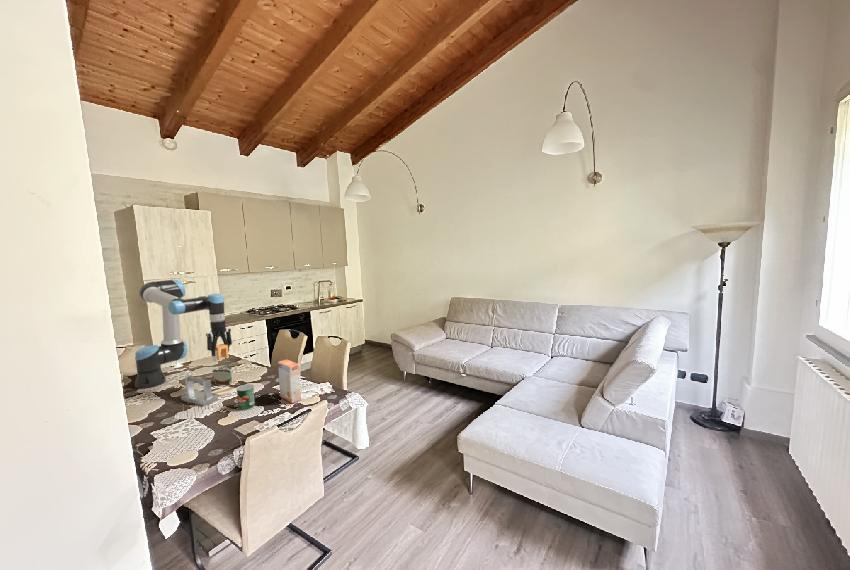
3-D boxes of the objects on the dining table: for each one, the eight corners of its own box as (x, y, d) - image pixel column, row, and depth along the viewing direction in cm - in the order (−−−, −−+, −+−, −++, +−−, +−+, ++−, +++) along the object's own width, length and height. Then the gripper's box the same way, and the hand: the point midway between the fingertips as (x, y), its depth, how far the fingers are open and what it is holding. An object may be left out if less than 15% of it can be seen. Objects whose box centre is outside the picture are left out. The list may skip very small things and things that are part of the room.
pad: (210, 393, 201) (210, 392, 201) (226, 386, 210) (226, 385, 210) (221, 396, 197) (221, 395, 197) (237, 389, 206) (237, 388, 206)
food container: (238, 381, 219) (237, 366, 218) (231, 385, 213) (230, 369, 212) (220, 380, 220) (218, 365, 219) (213, 384, 214) (211, 369, 213)
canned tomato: (236, 411, 179) (234, 391, 178) (240, 404, 187) (238, 385, 185) (253, 409, 181) (251, 389, 180) (256, 402, 189) (254, 383, 187)
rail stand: (181, 399, 193) (179, 378, 192) (195, 394, 201) (193, 373, 199) (203, 406, 185) (201, 384, 183) (218, 400, 192) (216, 378, 191)
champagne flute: (185, 364, 251) (182, 332, 248) (179, 367, 244) (175, 334, 241) (176, 364, 251) (172, 332, 248) (169, 368, 244) (166, 335, 241)
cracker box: (301, 400, 191) (299, 364, 188) (291, 404, 186) (289, 367, 184) (289, 393, 200) (287, 358, 198) (279, 396, 196) (277, 361, 193)
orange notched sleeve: (213, 359, 199) (212, 346, 199) (223, 356, 205) (222, 344, 204) (218, 360, 197) (217, 347, 196) (228, 357, 203) (227, 344, 202)
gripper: (205, 324, 188) (209, 365, 191) (237, 317, 205) (240, 355, 208) (196, 323, 191) (200, 363, 194) (228, 316, 209) (231, 353, 211)
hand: (221, 359), depth 201 cm, fingers closed on orange notched sleeve, 6 cm apart
